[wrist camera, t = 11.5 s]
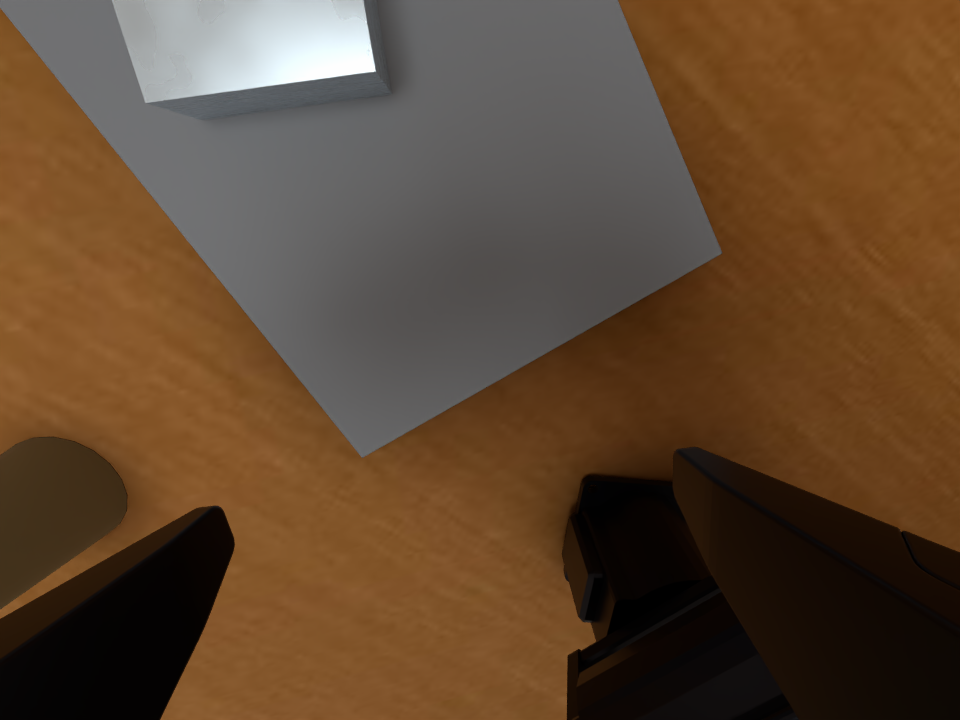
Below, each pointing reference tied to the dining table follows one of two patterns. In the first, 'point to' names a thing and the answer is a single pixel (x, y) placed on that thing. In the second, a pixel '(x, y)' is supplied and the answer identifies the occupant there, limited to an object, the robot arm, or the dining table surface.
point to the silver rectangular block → (253, 53)
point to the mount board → (415, 196)
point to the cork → (52, 508)
